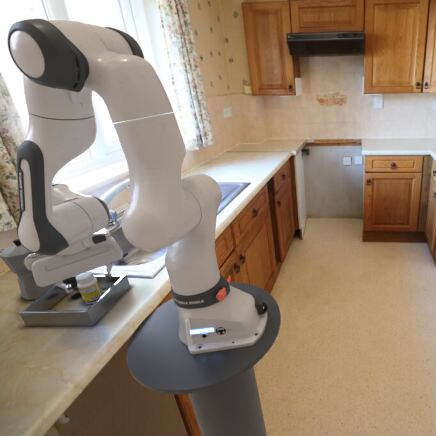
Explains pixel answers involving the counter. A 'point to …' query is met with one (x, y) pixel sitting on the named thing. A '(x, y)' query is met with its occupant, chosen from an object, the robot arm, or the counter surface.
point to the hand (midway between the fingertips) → (89, 283)
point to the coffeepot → (22, 270)
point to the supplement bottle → (89, 287)
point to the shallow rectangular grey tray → (38, 308)
